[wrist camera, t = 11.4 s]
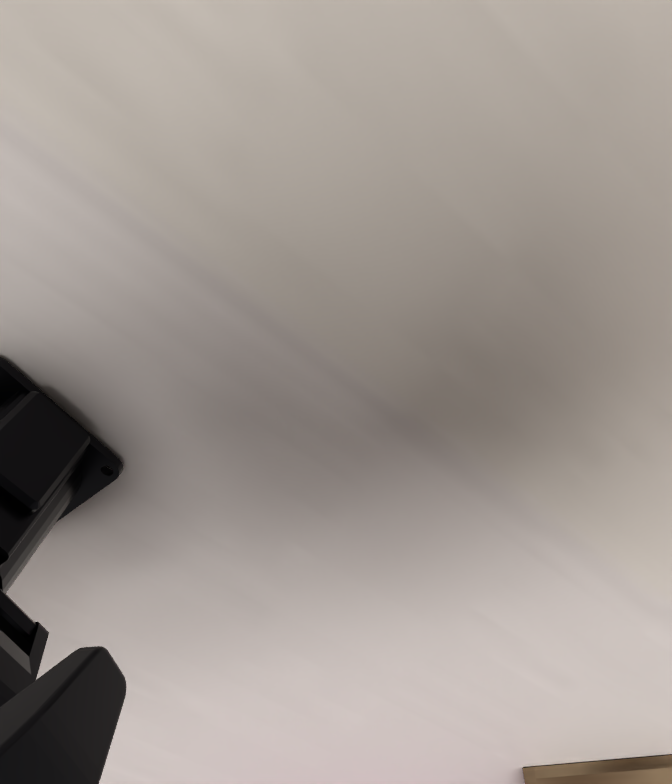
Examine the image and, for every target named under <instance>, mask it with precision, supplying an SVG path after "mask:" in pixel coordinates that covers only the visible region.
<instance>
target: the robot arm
mask: <svg viewBox="0 0 672 784" xmlns="http://www.w3.org/2000/svg"><path fill="white" fill-rule="evenodd" d="M106 466H109V467H111V468H112V469H113V470H112V469H109V468H107V467H106ZM122 470H123V464H122V462H121V461H120V459H119V458H118V457H116V456H115V455H114V454H113V453H112V452H111V451H110V450H108V449H107V448H106V447H105V446H104V445H103V444H101V443H100V442H99V441H98V440H97V439H96V438H95V437H93V436H92V435H91V434H90V433H89V432H88V431H86V430H85V429H84V428H83V427H82V426H81V425H80V424H78V423H77V422H76V421H75V420H74V419H73V418H72V417H70V416H69V415H68V414H67V413H66V412H65V411H63V410H62V409H61V408H60V407H59V406H58V405H57V404H55V403H54V402H53V401H52V400H51V399H50V398H49V397H47V396H46V395H45V394H44V393H43V392H42V391H40V390H39V389H38V388H37V387H36V386H35V385H34V384H32V383H31V382H30V381H29V380H28V379H27V378H26V377H24V376H23V375H22V374H21V373H20V372H19V371H17V370H16V369H15V368H14V367H13V366H12V365H11V364H9V363H8V362H7V361H6V360H4V359H3V358H1V357H0V784H99V781H100V778H101V775H102V772H103V768H104V765H105V762H106V758H107V755H108V752H109V749H110V745H111V742H112V739H113V735H114V732H115V729H116V726H117V722H118V719H119V716H120V712H121V709H122V706H123V703H124V699H125V695H126V681H125V677H124V675H123V674H122V672H121V670H120V669H119V667H118V666H117V664H116V663H115V661H114V659H113V658H112V656H111V655H110V653H109V652H108V650H107V649H106V648H104V647H100V646H97V647H84V648H79V649H78V650H76V651H74V652H73V653H72V654H70V655H69V656H68V657H66V658H65V659H64V660H62V661H61V662H60V663H58V664H57V665H56V666H54V667H53V668H52V669H50V670H49V671H48V672H46V673H45V674H44V675H42V676H41V677H40V678H38V679H37V680H36V677H37V674H38V670H39V667H40V663H41V659H42V656H43V652H44V649H45V645H46V641H47V638H48V634H49V632H48V631H47V630H46V629H45V628H44V627H43V626H42V625H41V624H40V623H39V622H34V621H32V620H31V619H30V618H29V617H28V616H27V615H26V614H25V613H24V612H23V611H22V610H21V609H20V608H19V607H18V606H17V605H16V604H15V603H14V602H13V601H12V600H11V599H10V598H9V597H8V596H7V595H6V592H7V591H8V589H9V588H10V587H11V585H12V584H13V582H14V581H15V580H16V578H17V577H18V575H19V574H20V572H21V571H22V570H23V568H24V567H25V565H26V564H27V563H28V561H29V560H30V558H31V557H32V555H33V554H34V553H35V551H36V550H37V548H38V547H39V545H40V544H41V543H42V541H43V540H44V538H45V537H46V536H47V534H48V533H49V531H50V530H51V528H52V527H53V526H54V524H55V523H56V522H57V521H58V520H60V519H61V518H63V517H64V516H65V515H67V514H68V513H70V512H71V511H72V510H74V509H75V508H76V507H78V506H79V505H81V504H82V503H83V502H85V501H86V500H88V499H89V498H90V497H92V496H93V495H95V494H96V493H97V492H99V491H100V490H102V489H103V488H104V487H106V486H107V485H109V484H110V483H111V482H113V481H114V480H116V479H117V478H118V476H119V475H120V473H121V472H122Z"/></svg>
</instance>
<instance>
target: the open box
mask: <svg viewBox="0 0 672 784" xmlns="http://www.w3.org/2000/svg"><path fill="white" fill-rule="evenodd" d="M523 773H524V779H525V784H672V755H666V756H654V757H643V758H631V759H620V760H608V761H597V762H585V763H573V764H562V765H550V766H539V767H527V768H523Z"/></svg>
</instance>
